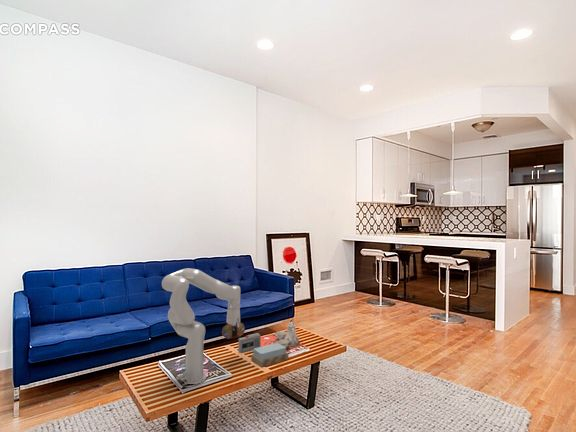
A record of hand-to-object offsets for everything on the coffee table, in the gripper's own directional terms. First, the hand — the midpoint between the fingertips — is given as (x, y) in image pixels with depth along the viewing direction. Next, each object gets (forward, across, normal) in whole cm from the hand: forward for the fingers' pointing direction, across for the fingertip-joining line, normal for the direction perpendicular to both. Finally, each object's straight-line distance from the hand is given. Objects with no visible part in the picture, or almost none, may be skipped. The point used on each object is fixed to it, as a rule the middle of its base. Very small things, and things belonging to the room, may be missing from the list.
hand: (233, 335), depth 212 cm
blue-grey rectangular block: (+12, +12, +20) cm, 26 cm away
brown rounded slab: (+1, 0, 0) cm, 1 cm away
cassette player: (+16, -10, +18) cm, 26 cm away
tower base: (+16, +11, +20) cm, 28 cm away
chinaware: (+15, -4, +45) cm, 47 cm away
